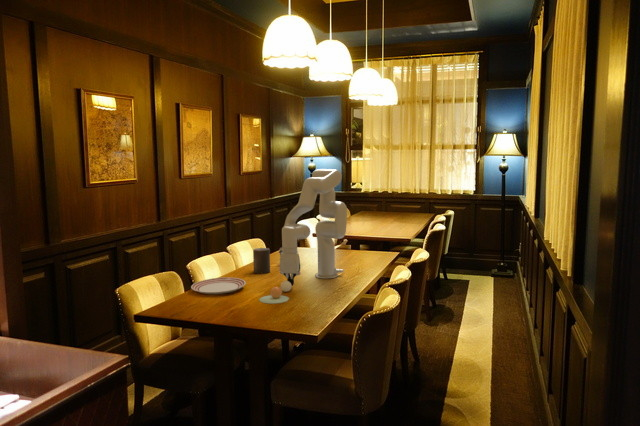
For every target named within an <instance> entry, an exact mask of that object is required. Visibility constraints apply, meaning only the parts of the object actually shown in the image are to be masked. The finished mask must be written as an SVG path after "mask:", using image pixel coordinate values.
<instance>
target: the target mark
mask: <svg viewBox="0 0 640 426" xmlns="http://www.w3.org/2000/svg"><path fill="white" fill-rule="evenodd" d="M258 300H259V302H261V303H264V304H270V305H271V304H273V305H275V304H282V303H286V302H288V301H289V300H290V297H289V296H287V295H283V294H281V296H280V297H279V298H273V297H272V296H271V294H270V295H269V294H268V295H265V296H262V297H260V298H259V299H258Z"/></svg>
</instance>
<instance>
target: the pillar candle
mask: <svg viewBox="0 0 640 426" xmlns="http://www.w3.org/2000/svg"><path fill="white" fill-rule="evenodd" d="M252 252H253V256H252V257H253V263H252V265H253V273H254V274H258V275H264V274H269V273H270V272H271V256H270V255H271V254H270V253H271V251H270V248H269V247H267V248H266V247H258V248H253V249H252Z"/></svg>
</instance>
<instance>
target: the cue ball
mask: <svg viewBox="0 0 640 426" xmlns="http://www.w3.org/2000/svg"><path fill="white" fill-rule="evenodd" d="M292 288H293V286H292V285H291V283H290V282H289V281H287V280H283V281H281V284H280V289H281V290H282V292H283V293H284V292H286V293H287V292H290V291H291V290H292Z"/></svg>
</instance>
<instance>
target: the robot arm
mask: <svg viewBox="0 0 640 426" xmlns="http://www.w3.org/2000/svg"><path fill="white" fill-rule="evenodd" d="M311 173H312V174H311V177H308V178H305V179H304V181H303V185H302V188H301V191H300V195H299V199H298V203H297V204H296V205H295V206H293V208H292V209H291V210H290V211H289V213H288V214H287V215H286V218H285V220H284V221H285V222H284V225H283V227H282V228H281V244H282V245H281V246H282V247H280V248H279V250H281V251H282V253H281V255H280V254H279V266H278V267H279V274H280V275H283V276H284V277H285V278H286V281H289V282H290V283H291V285H292V287H293V285H295V277H297V276H300V275H301V260H300V254H299V252H298V253H297V251H298V240H305V239H308V237H309V236H310V235H311V229H310V226H308V225H306V224H302V223H301V224H300V223H296V222H297V220H298V219H299V217H301V216H302V215H303V214H306V213H308V212H310V211H312V210H313V209H314V208H315V204H316V200H317V197H318V194H319V208H318V209H319V213H318V214H319V215H320V217H322V218H327V219H334V220H324V219H323V220H319V221H318V222H316V224H315V235H316V241H317V243H316V244H317V273H315V275H314V276H315V277H316V278H318V279H322V280H323V279H335V278H337V277H338V276H339V275H338V273H339V274H340V273H344V268H343V269H342V268H341V269H340V268H337V267H336V266H335V265H336V262H335V261H336V260H335V259H336V251H335V249H336V247H335V246H336V245H335V242H334V239H338V240H339V239H343V238H344V237H345V235H346V233H347V222H348V221H347V220H348V207H347V205H346V204H345V202H343V201H338V200H336V191H335V188H336V187H337V186H338V185H339V184H341V181H342V177H343V176H342V173H341V171H340V170H339V169H335V168H334V169H332V168H328V169H327V168H319V169H316V170H314V171H313V172H311Z"/></svg>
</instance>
